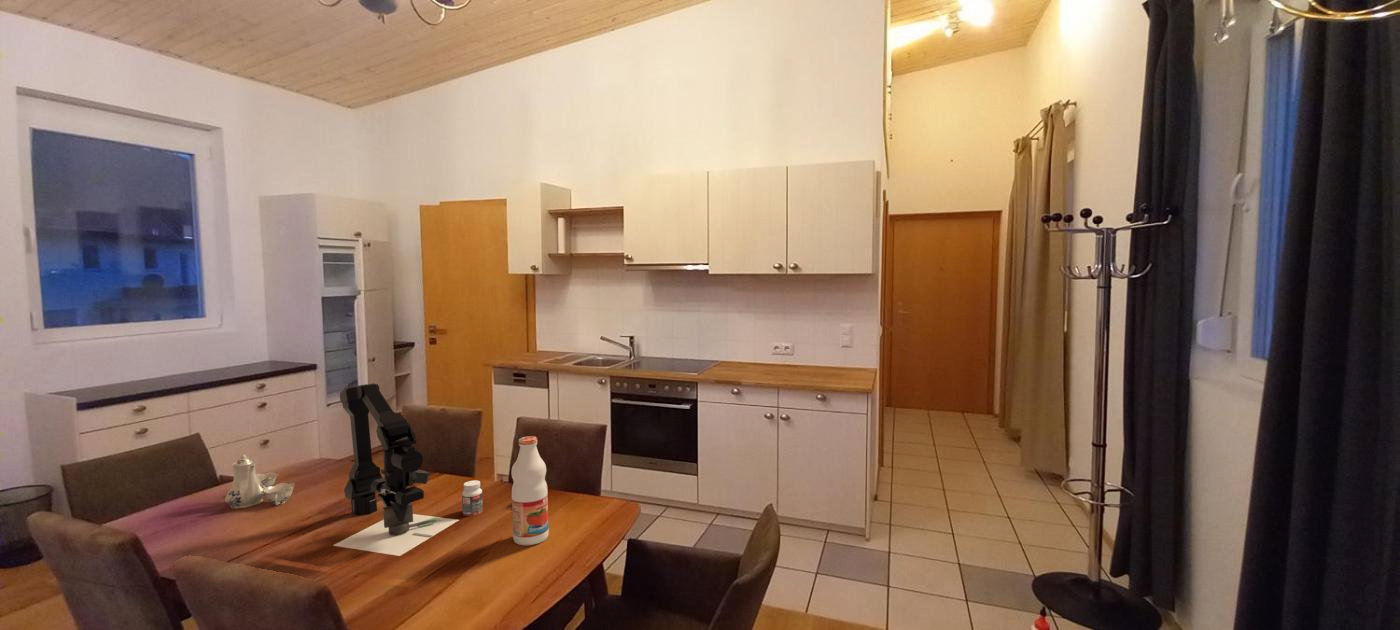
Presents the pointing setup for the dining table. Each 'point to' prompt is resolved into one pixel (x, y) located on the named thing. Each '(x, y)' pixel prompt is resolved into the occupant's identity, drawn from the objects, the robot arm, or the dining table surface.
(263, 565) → the dining table surface
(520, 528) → the fruit juice
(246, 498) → the chinaware
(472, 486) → the pill bottle
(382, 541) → the dial plate
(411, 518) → the dark grey angled piece
